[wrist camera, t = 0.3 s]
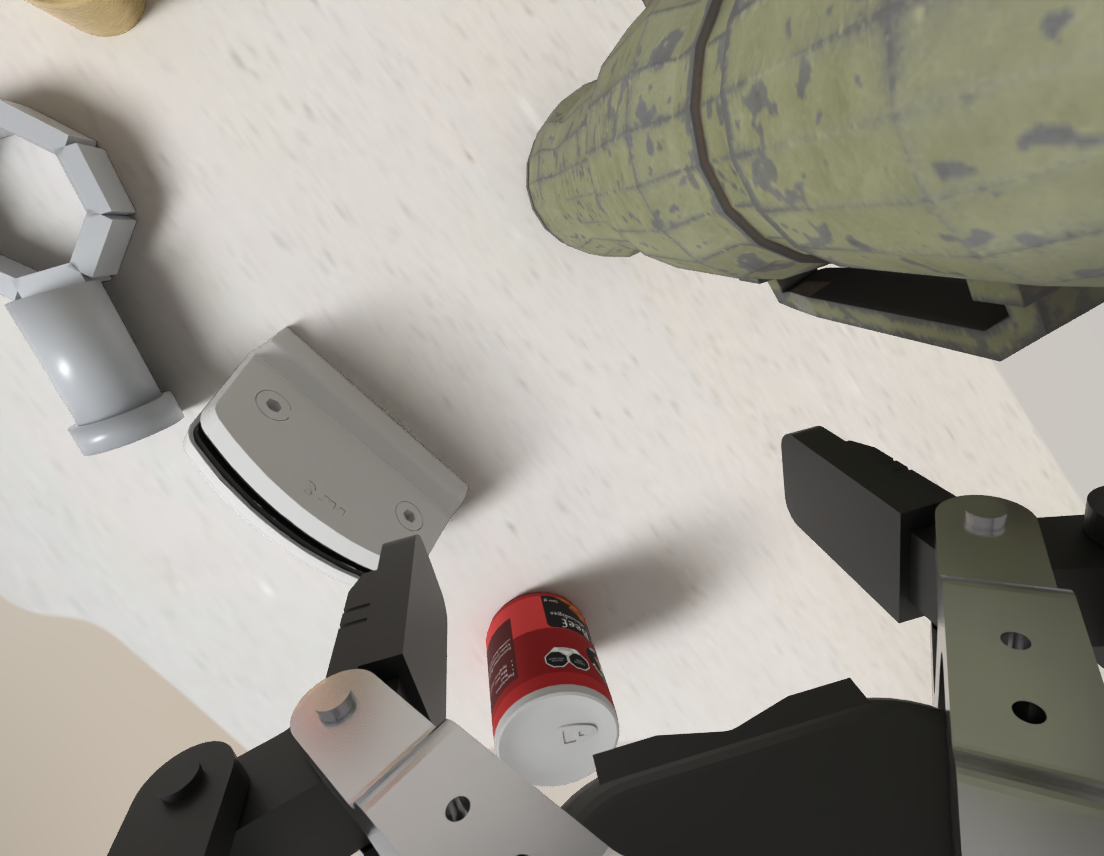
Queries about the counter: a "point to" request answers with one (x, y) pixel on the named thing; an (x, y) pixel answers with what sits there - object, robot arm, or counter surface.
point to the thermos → (850, 159)
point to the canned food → (547, 691)
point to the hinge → (318, 462)
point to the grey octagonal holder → (85, 301)
